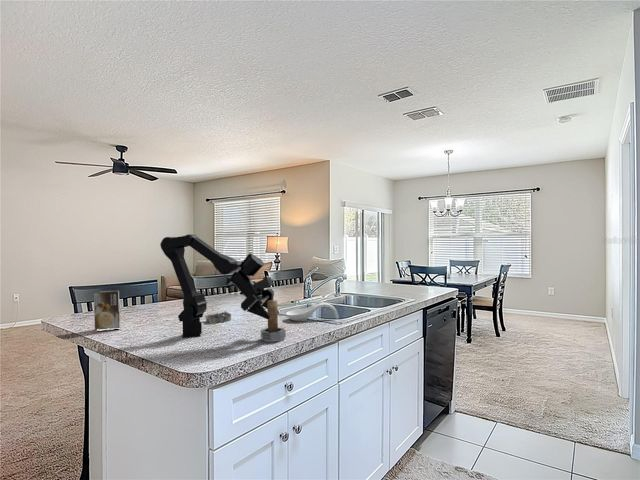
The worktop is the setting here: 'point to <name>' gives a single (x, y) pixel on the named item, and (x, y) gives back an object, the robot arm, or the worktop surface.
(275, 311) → the dowel
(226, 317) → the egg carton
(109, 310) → the coffee box
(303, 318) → the spoon rest
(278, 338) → the ring
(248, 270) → the robot arm
